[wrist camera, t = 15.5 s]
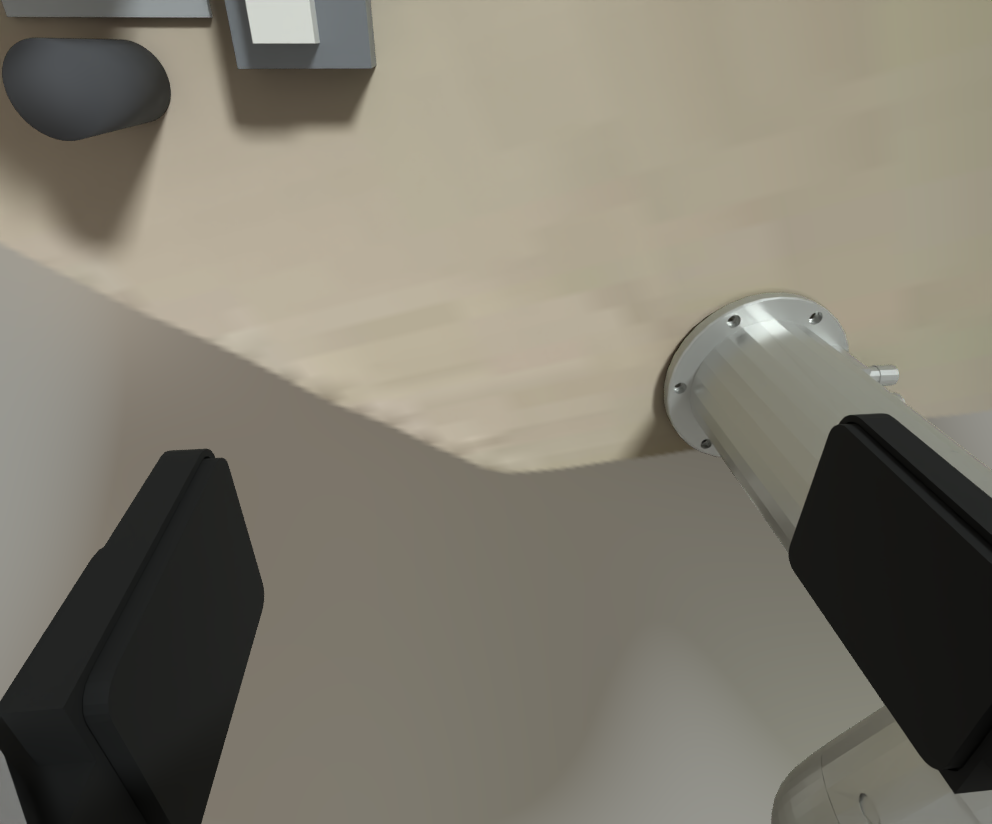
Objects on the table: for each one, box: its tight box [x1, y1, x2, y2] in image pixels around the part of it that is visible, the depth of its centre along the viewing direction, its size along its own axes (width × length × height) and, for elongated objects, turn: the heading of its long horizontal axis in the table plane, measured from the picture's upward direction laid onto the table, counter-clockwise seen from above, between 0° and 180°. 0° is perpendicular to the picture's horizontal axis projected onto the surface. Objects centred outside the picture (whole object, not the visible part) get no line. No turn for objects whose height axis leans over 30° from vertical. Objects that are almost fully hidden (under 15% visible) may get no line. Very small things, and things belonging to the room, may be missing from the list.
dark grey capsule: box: [2, 38, 171, 141], centre depth 27 cm, size 4×4×7 cm
